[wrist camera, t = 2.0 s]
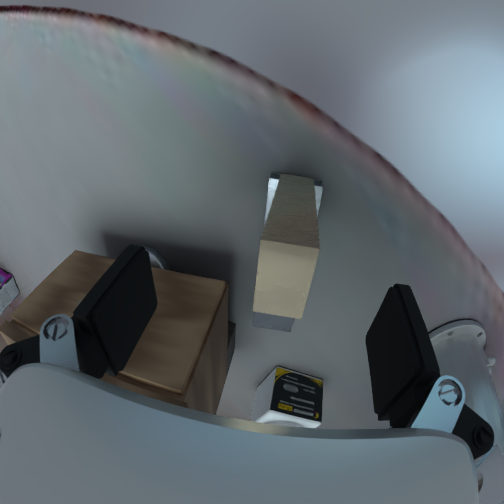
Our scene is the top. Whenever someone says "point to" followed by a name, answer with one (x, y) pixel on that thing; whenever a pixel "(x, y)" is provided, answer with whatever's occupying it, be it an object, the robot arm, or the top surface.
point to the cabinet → (149, 331)
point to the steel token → (156, 258)
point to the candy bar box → (7, 289)
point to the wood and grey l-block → (287, 251)
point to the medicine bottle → (289, 400)
